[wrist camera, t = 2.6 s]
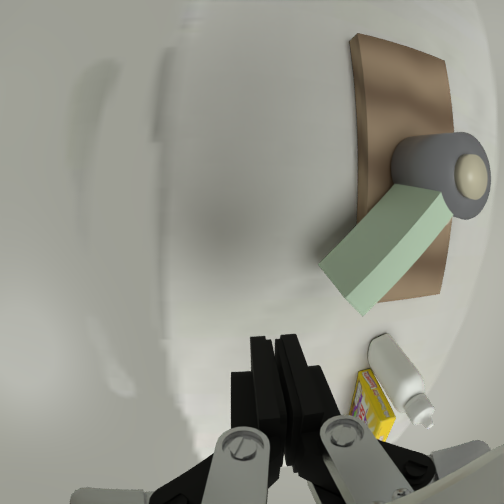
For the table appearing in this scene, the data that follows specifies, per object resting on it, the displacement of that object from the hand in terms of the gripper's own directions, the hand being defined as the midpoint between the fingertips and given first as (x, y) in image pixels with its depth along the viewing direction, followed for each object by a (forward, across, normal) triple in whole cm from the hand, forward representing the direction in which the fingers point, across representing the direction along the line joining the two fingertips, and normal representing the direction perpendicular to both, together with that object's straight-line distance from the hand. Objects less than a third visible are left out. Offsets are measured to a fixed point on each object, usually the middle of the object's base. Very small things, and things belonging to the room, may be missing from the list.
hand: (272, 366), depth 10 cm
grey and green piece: (+12, -11, -5) cm, 17 cm away
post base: (+14, -14, -8) cm, 21 cm away
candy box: (+15, -13, +22) cm, 30 cm away
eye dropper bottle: (+15, -14, +12) cm, 24 cm away
